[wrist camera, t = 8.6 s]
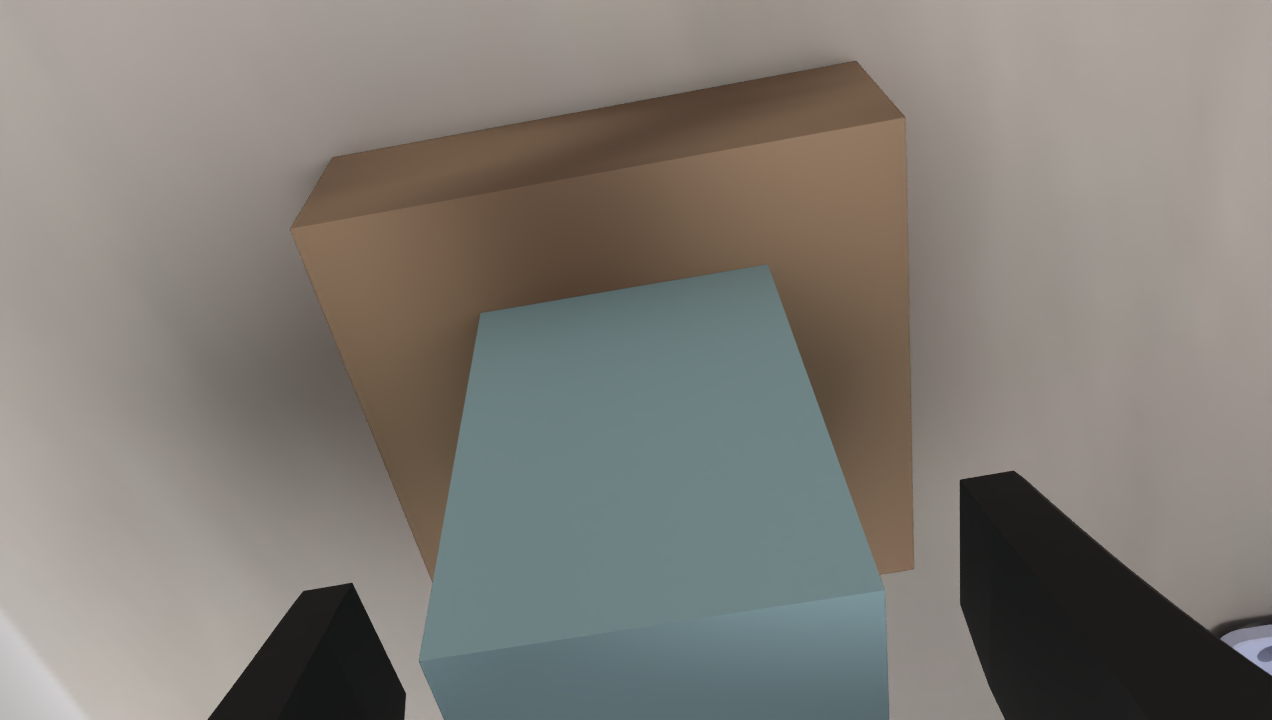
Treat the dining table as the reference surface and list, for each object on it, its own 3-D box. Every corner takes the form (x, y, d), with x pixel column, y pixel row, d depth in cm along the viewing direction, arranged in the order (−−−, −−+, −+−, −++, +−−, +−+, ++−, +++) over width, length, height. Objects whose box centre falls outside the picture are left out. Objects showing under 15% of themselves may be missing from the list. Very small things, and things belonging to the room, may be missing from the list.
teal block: (767, 264, 13) (884, 590, 8) (790, 486, 15) (893, 853, 10) (480, 312, 13) (418, 661, 8) (542, 526, 15) (524, 905, 10)
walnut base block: (849, 52, 15) (905, 117, 12) (869, 459, 19) (914, 569, 16) (338, 147, 15) (290, 229, 12) (472, 523, 19) (456, 640, 17)
